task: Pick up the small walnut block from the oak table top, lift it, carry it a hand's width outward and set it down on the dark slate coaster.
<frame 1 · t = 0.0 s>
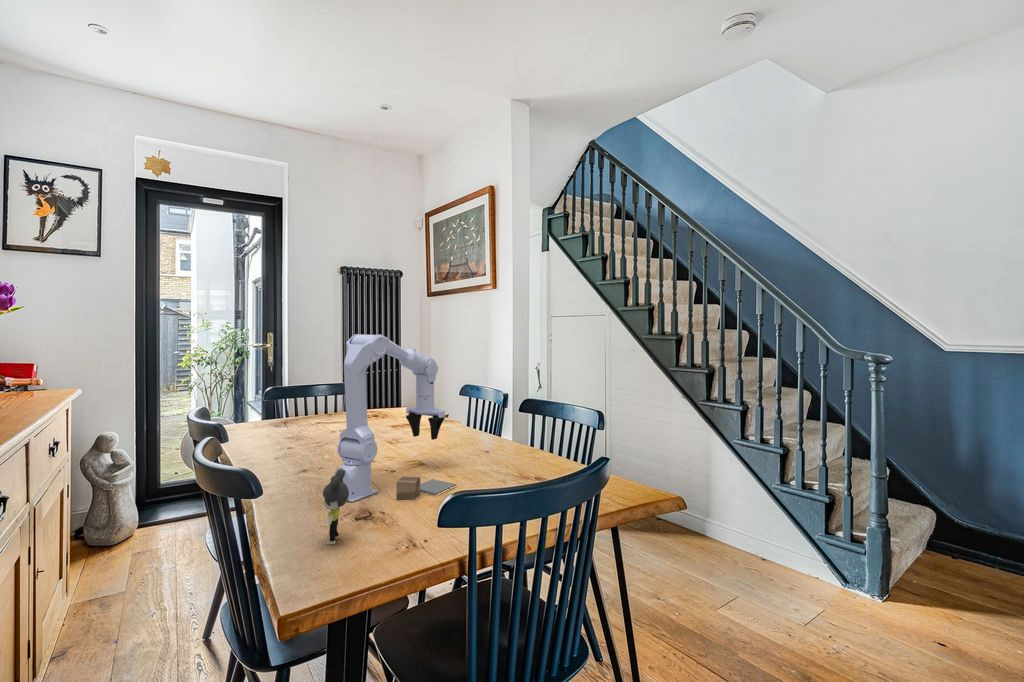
hand: (425, 437, 161), 10 cm above the table, tool pointing down, fingers open, 7 cm apart
walnut block: (408, 497, 135), on the table
toy: (336, 542, 108), on the table
slate coaster: (434, 488, 142), on the table
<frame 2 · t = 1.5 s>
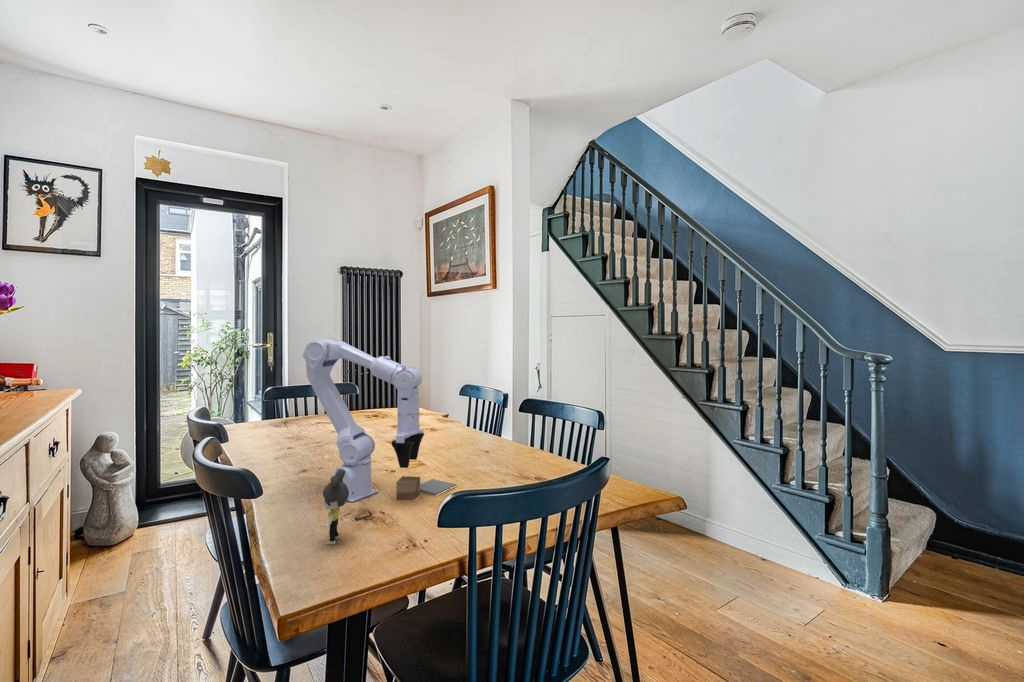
hand: (408, 463, 135), 9 cm above the table, tool pointing down, fingers open, 7 cm apart
nothing on the table moved.
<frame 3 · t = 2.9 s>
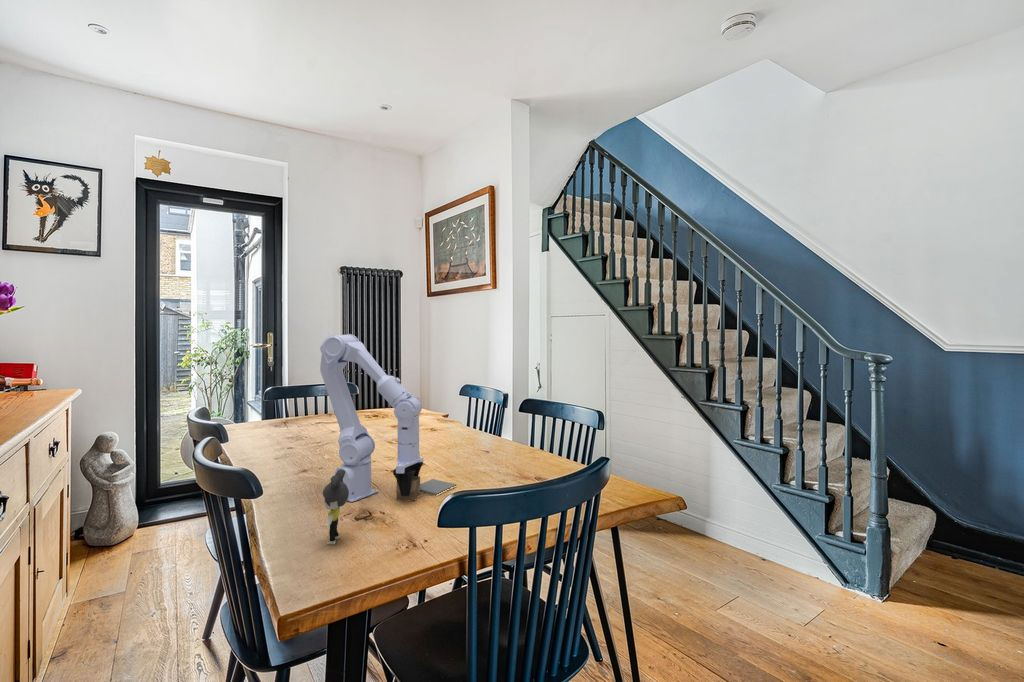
hand: (408, 492, 135), 1 cm above the table, tool pointing down, fingers closed on walnut block, 5 cm apart
walnut block: (408, 497, 135), on the table, touching gripper
everything else where it was.
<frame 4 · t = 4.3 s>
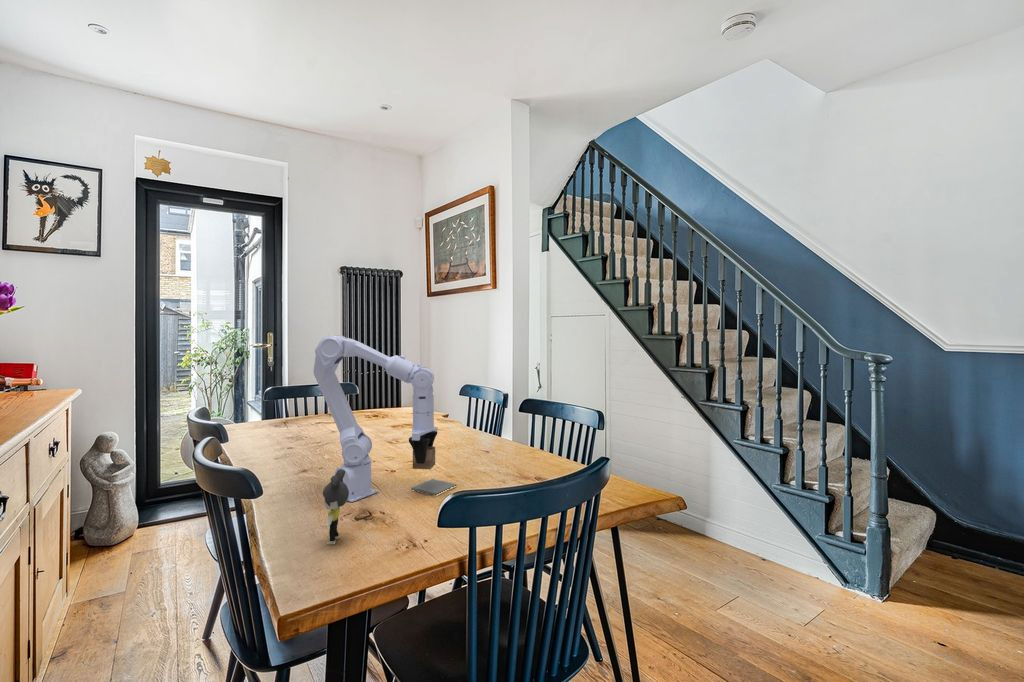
hand: (423, 460, 139), 9 cm above the table, tool pointing down, fingers closed on walnut block, 5 cm apart
walnut block: (424, 466, 139), point 7 cm above the table, touching gripper
everything else where it was.
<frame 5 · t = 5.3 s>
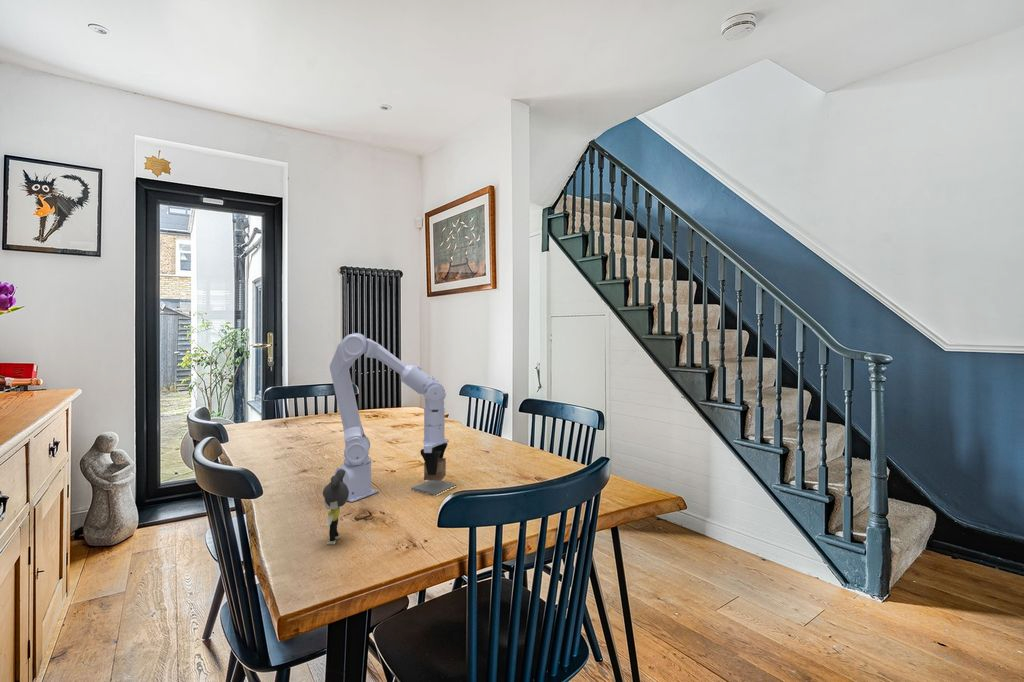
hand: (434, 471, 142), 5 cm above the table, tool pointing down, fingers closed on walnut block, 5 cm apart
walnut block: (435, 477, 142), point 3 cm above the table, touching gripper
everything else where it was.
when the fingers open (3 cm above the table, at t = 6.1 s): walnut block stays where it is, resting on slate coaster.
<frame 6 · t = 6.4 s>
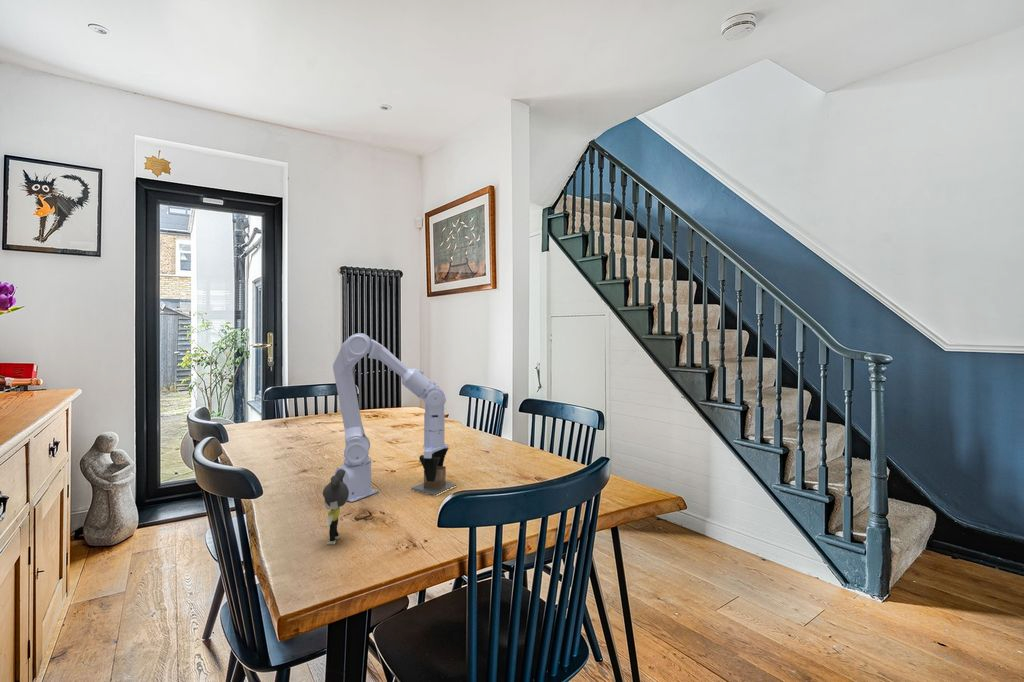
hand: (434, 476, 142), 3 cm above the table, tool pointing down, fingers open, 7 cm apart
walnut block: (434, 485, 142), point 1 cm above the table, touching slate coaster
everything else where it was.
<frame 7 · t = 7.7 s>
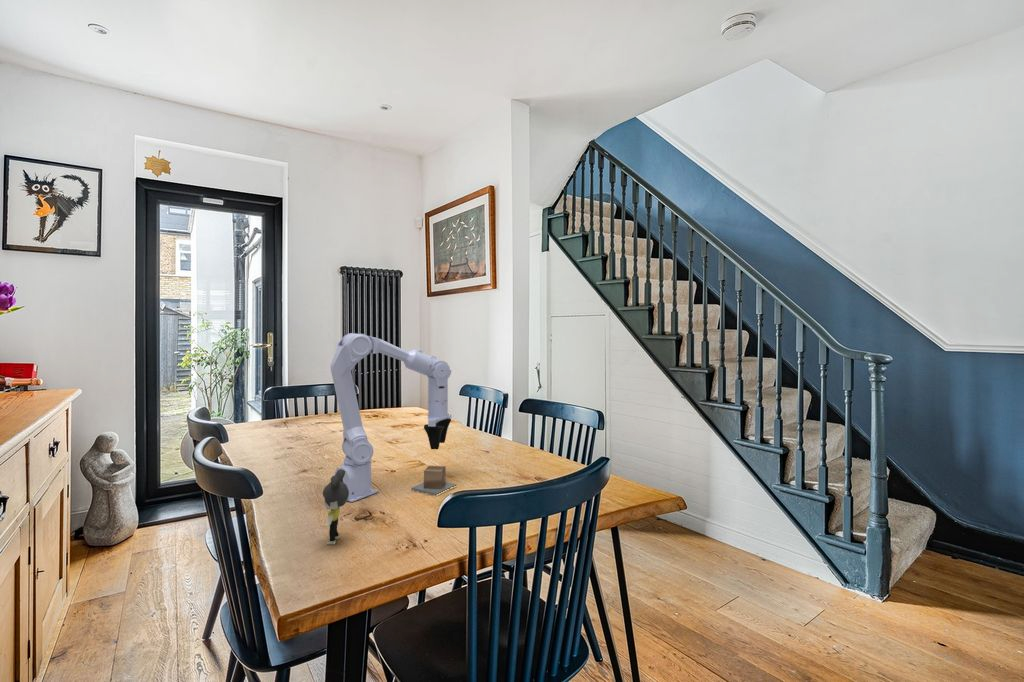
hand: (437, 445, 149), 10 cm above the table, tool pointing down, fingers open, 7 cm apart
nothing on the table moved.
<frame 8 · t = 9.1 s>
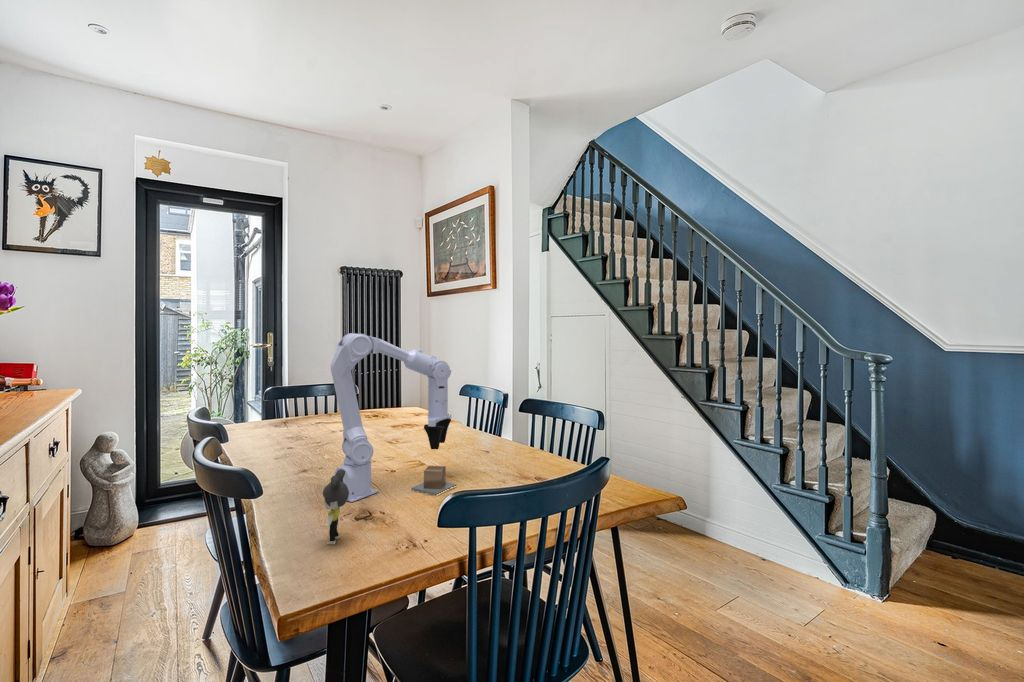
hand: (437, 445, 149), 10 cm above the table, tool pointing down, fingers open, 7 cm apart
nothing on the table moved.
at the end: walnut block inside the target area on the slate coaster (0.1 cm from its centre), point 0.8 cm above the slate coaster's base; walnut block tilted 0°; the gripper is holding nothing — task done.
